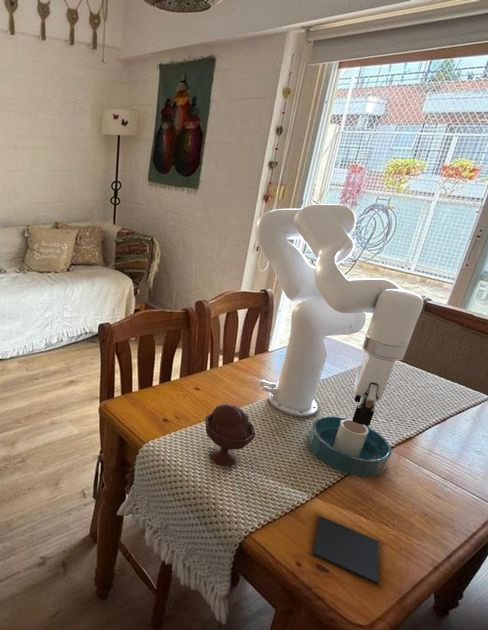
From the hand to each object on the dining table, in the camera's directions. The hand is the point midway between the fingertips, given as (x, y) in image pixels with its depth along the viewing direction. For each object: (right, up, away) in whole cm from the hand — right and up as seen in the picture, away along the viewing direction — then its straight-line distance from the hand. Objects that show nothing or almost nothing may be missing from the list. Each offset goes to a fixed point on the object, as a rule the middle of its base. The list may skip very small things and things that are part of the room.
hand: (361, 412), depth 101 cm
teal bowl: (0, -11, +5) cm, 12 cm away
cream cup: (0, -11, +5) cm, 12 cm away
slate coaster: (-15, -21, -19) cm, 32 cm away
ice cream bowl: (-31, -12, +3) cm, 33 cm away
